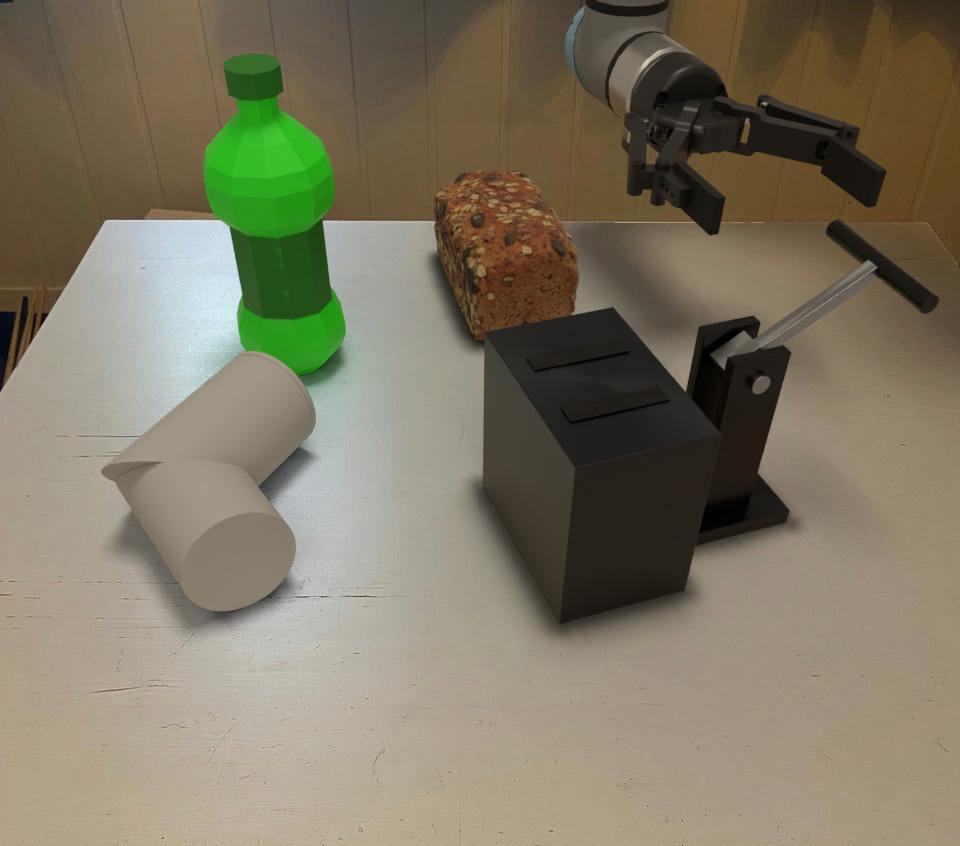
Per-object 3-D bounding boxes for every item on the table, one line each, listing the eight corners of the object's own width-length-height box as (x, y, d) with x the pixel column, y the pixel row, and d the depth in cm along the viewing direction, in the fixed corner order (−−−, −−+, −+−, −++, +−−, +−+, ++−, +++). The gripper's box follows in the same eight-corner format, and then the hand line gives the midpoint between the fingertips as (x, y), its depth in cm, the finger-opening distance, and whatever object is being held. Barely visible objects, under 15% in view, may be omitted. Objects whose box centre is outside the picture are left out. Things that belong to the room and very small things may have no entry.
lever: (844, 235, 70) (838, 209, 68) (941, 311, 63) (937, 285, 62) (689, 344, 73) (679, 322, 71) (766, 429, 66) (758, 407, 64)
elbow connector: (68, 471, 78) (161, 628, 67) (56, 349, 71) (158, 501, 60) (273, 439, 87) (385, 572, 76) (280, 328, 80) (404, 456, 69)
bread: (576, 338, 94) (585, 237, 86) (467, 350, 92) (466, 248, 84) (528, 245, 106) (532, 149, 98) (431, 255, 104) (428, 158, 96)
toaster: (595, 460, 81) (613, 304, 71) (685, 590, 71) (722, 432, 61) (482, 486, 79) (484, 329, 68) (559, 624, 69) (575, 466, 59)
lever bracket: (735, 461, 81) (777, 297, 70) (786, 521, 76) (840, 356, 65) (626, 487, 79) (652, 322, 68) (672, 551, 74) (707, 385, 63)
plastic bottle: (254, 327, 94) (200, 37, 76) (362, 333, 94) (335, 42, 75) (227, 387, 88) (160, 86, 69) (343, 394, 87) (307, 92, 68)
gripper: (782, 124, 91) (922, 226, 78) (533, 161, 85) (640, 278, 72) (802, 33, 85) (957, 127, 72) (537, 67, 80) (654, 175, 67)
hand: (799, 203), depth 72 cm, fingers open, 13 cm apart
